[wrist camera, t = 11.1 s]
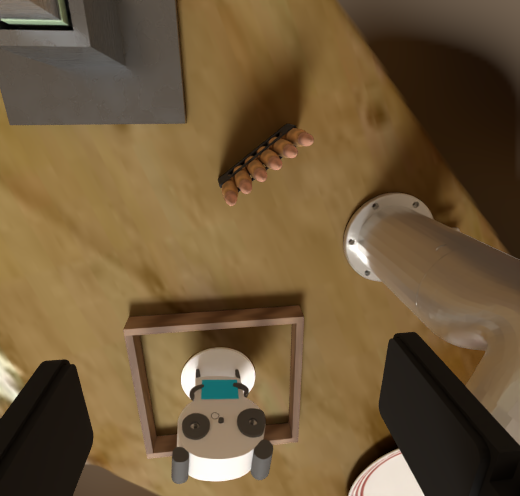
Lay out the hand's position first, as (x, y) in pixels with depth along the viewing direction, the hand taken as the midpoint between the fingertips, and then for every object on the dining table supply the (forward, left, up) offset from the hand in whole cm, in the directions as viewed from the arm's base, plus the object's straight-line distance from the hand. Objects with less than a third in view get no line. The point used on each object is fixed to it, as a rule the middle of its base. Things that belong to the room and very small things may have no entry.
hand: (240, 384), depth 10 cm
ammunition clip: (-4, -3, -34) cm, 34 cm away
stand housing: (+13, -16, -33) cm, 39 cm away
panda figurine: (+2, +30, -34) cm, 45 cm away
